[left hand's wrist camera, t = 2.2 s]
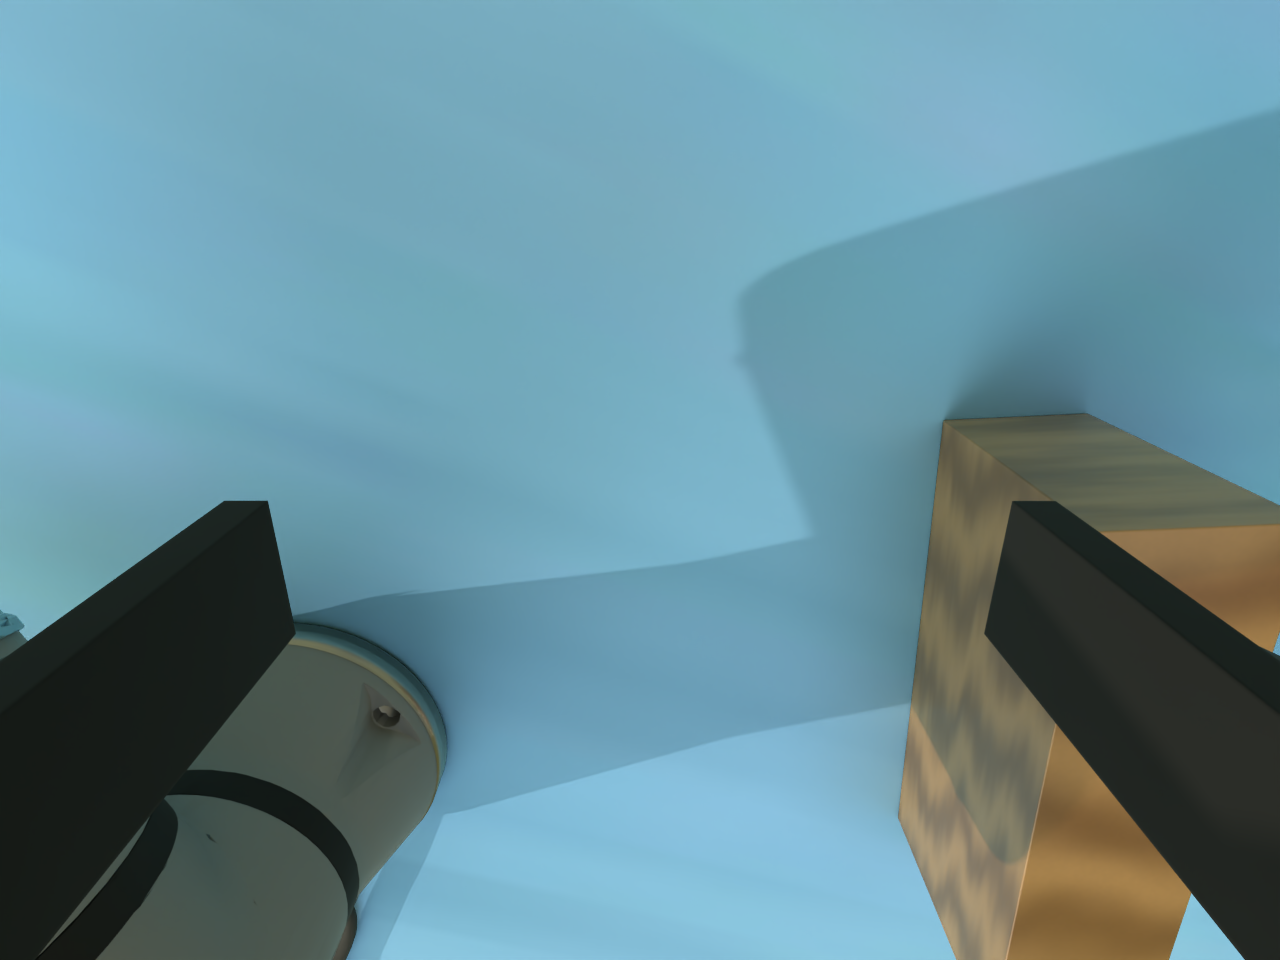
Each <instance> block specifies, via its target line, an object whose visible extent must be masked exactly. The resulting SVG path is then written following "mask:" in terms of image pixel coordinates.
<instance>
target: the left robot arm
mask: <svg viewBox="0 0 1280 960" xmlns="http://www.w3.org/2000/svg"><path fill="white" fill-rule="evenodd" d="M22 628H24V624H23V623H22V622H21V621H20V620H19V619H18V617H17V616H15V615H12V614H7V613H3V612H2V611H1V610H0V960H346V958H347V956H348V954H349V951H350V949H351V947H352V944H353V941H354V938H355V935H356V929H357V915H356V911H355V908H354V905H355V903H356V900H357V898H358V896H359V894H360V893H361V892H362V890H363V889H364V888H365V887H366V886H367V884H368V883H369V882H370V881H371V880H372V878H373V877H374V876H375V875H376V874H377V872H378V871H379V870H380V869H381V868H382V867H383V865H384V864H385V863H386V862H387V861H388V859H389V858H390V857H391V856H392V855H393V853H394V852H395V851H396V850H397V849H398V847H399V846H400V845H401V844H402V843H403V842H404V840H405V839H406V838H407V837H408V836H409V834H410V833H411V832H412V831H413V830H414V829H415V827H416V826H417V825H418V824H419V823H420V822H421V820H422V819H423V818H424V816H425V815H426V813H427V812H428V810H429V808H430V806H431V804H432V802H433V799H434V797H435V794H436V791H437V788H438V785H439V782H440V780H441V777H442V774H443V771H444V768H445V763H446V756H447V739H446V733H445V728H444V724H443V721H442V718H441V715H440V713H439V711H438V708H437V706H436V705H435V703H434V701H433V699H432V697H431V696H430V694H429V693H428V691H427V690H426V689H425V687H424V686H423V685H422V684H421V682H420V681H419V680H418V679H417V678H416V677H415V676H414V675H413V674H412V673H411V672H410V671H409V670H408V669H407V668H406V667H405V666H404V665H403V664H401V663H400V662H399V661H398V660H396V659H395V658H394V657H392V656H391V655H389V654H388V653H386V652H385V651H383V650H382V649H380V648H378V647H376V646H375V645H373V644H371V643H369V642H367V641H365V640H363V639H361V638H358V637H356V636H353V635H350V634H348V633H345V632H342V631H338V630H335V629H331V628H327V627H322V626H317V625H310V624H300V623H294V622H293V617H292V613H291V608H290V603H289V599H288V594H287V589H286V584H285V580H284V575H283V570H282V566H281V561H280V556H279V551H278V547H277V542H276V537H275V533H274V528H273V523H272V518H271V514H270V509H269V504H268V501H223V502H222V503H221V504H219V505H218V506H216V507H215V508H214V509H212V510H211V511H209V512H208V513H207V514H205V515H204V516H202V517H201V518H200V519H198V520H197V521H195V522H194V523H193V524H191V525H190V526H188V527H187V528H186V529H184V530H183V531H181V532H180V533H179V534H177V535H176V536H174V537H173V538H172V539H170V540H169V541H167V542H166V543H165V544H163V545H162V546H160V547H159V548H158V549H156V550H155V551H153V552H152V553H151V554H149V555H148V556H146V557H145V558H144V559H142V560H141V561H139V562H138V563H137V564H135V565H134V566H132V567H131V568H130V569H128V570H127V571H125V572H124V573H123V574H121V575H120V576H118V577H117V578H116V579H114V580H113V581H112V582H110V583H109V584H107V585H106V586H105V587H103V588H102V589H100V590H99V591H98V592H96V593H95V594H93V595H92V596H91V597H89V598H88V599H86V600H85V601H84V602H82V603H81V604H79V605H78V606H77V607H75V608H74V609H72V610H71V611H70V612H68V613H67V614H65V615H64V616H63V617H61V618H60V619H58V620H57V621H56V622H54V623H53V624H51V625H50V626H49V627H47V628H46V629H44V630H43V631H42V632H40V633H39V634H37V635H36V636H35V637H33V638H32V639H30V640H29V641H27V640H26V639H25V638H24V636H23V635H22V634H21V633H20V632H19V630H21V629H22ZM984 634H985V636H986V637H987V638H988V639H989V641H990V642H991V643H992V644H993V646H994V647H995V648H996V649H997V651H998V652H999V653H1000V654H1001V656H1002V657H1003V658H1004V659H1005V661H1006V662H1007V663H1008V664H1009V666H1010V667H1011V668H1012V669H1013V671H1014V672H1015V673H1016V674H1017V676H1018V677H1019V678H1020V679H1021V681H1022V682H1023V683H1024V684H1025V686H1026V687H1027V688H1028V689H1029V691H1030V692H1031V693H1032V694H1033V696H1034V697H1035V698H1036V699H1037V701H1038V702H1039V703H1040V704H1041V706H1042V707H1043V708H1044V709H1045V711H1046V712H1047V713H1048V714H1049V716H1050V717H1051V718H1052V719H1053V721H1054V722H1055V723H1056V724H1057V726H1058V727H1059V728H1060V729H1061V731H1062V732H1063V733H1064V734H1065V736H1066V737H1067V738H1068V739H1069V741H1070V742H1071V743H1072V744H1073V746H1074V747H1075V748H1076V749H1077V751H1078V752H1079V753H1080V754H1081V756H1082V757H1083V758H1084V759H1085V761H1086V762H1087V763H1088V764H1089V766H1090V767H1091V768H1092V769H1093V771H1094V772H1095V773H1096V774H1097V776H1098V777H1099V778H1100V779H1101V781H1102V782H1103V783H1104V784H1105V786H1106V787H1107V788H1108V789H1109V791H1110V792H1111V793H1112V794H1113V796H1114V797H1115V798H1116V799H1117V801H1118V802H1119V803H1120V804H1121V806H1122V807H1123V808H1124V809H1125V811H1126V812H1127V813H1128V814H1129V816H1130V817H1131V818H1132V819H1133V821H1134V822H1135V823H1136V824H1137V826H1138V827H1139V828H1140V829H1141V831H1142V832H1143V833H1144V834H1145V836H1146V837H1147V838H1148V839H1149V841H1150V842H1151V843H1152V844H1153V846H1154V847H1155V848H1156V849H1157V851H1158V852H1159V853H1160V854H1161V856H1162V857H1163V858H1164V859H1165V861H1166V862H1167V863H1168V864H1169V866H1170V867H1171V868H1172V869H1173V871H1174V872H1175V873H1176V874H1177V876H1178V877H1179V878H1180V879H1181V881H1182V882H1183V883H1184V884H1185V886H1186V887H1187V888H1188V889H1189V891H1190V892H1191V893H1192V894H1193V896H1194V897H1195V898H1196V899H1197V901H1198V902H1199V903H1200V904H1201V905H1202V907H1203V908H1204V909H1205V910H1206V912H1207V913H1208V914H1209V915H1210V917H1211V918H1212V919H1213V920H1214V922H1215V923H1216V924H1217V925H1218V927H1219V928H1220V929H1221V930H1222V932H1223V933H1224V934H1225V935H1226V937H1227V938H1228V939H1229V940H1230V942H1231V943H1232V944H1233V945H1234V947H1235V948H1236V949H1237V950H1238V952H1239V953H1240V954H1241V955H1242V957H1243V958H1244V959H1245V960H1280V656H1279V655H1277V654H1275V653H1273V652H1270V651H1268V650H1266V649H1264V648H1262V647H1259V646H1258V645H1257V644H1255V643H1254V642H1252V641H1251V640H1250V639H1248V638H1247V637H1245V636H1244V635H1243V634H1241V633H1240V632H1238V631H1237V630H1236V629H1234V628H1233V627H1231V626H1230V625H1229V624H1227V623H1226V622H1224V621H1223V620H1222V619H1220V618H1219V617H1217V616H1216V615H1215V614H1213V613H1212V612H1210V611H1209V610H1208V609H1206V608H1205V607H1203V606H1202V605H1201V604H1199V603H1198V602H1196V601H1195V600H1194V599H1192V598H1191V597H1189V596H1188V595H1187V594H1185V593H1184V592H1182V591H1181V590H1180V589H1178V588H1177V587H1175V586H1174V585H1173V584H1171V583H1170V582H1168V581H1167V580H1166V579H1164V578H1163V577H1162V576H1160V575H1159V574H1157V573H1156V572H1155V571H1153V570H1152V569H1150V568H1149V567H1148V566H1146V565H1145V564H1143V563H1142V562H1141V561H1139V560H1138V559H1136V558H1135V557H1134V556H1132V555H1131V554H1129V553H1128V552H1127V551H1125V550H1124V549H1122V548H1121V547H1120V546H1118V545H1117V544H1115V543H1114V542H1113V541H1111V540H1110V539H1108V538H1107V537H1106V536H1104V535H1103V534H1101V533H1100V532H1099V531H1097V530H1096V529H1094V528H1093V527H1092V526H1090V525H1089V524H1087V523H1086V522H1085V521H1083V520H1082V519H1080V518H1079V517H1078V516H1076V515H1075V514H1073V513H1072V512H1071V511H1069V510H1068V509H1066V508H1065V507H1064V506H1062V505H1061V504H1059V503H1058V502H1057V501H1012V504H1011V509H1010V514H1009V518H1008V523H1007V528H1006V533H1005V537H1004V542H1003V547H1002V551H1001V556H1000V561H999V566H998V570H997V575H996V580H995V584H994V589H993V594H992V599H991V603H990V608H989V613H988V617H987V622H986V627H985V631H984Z"/></svg>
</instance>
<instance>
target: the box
mask: <svg viewBox="0 0 1280 960" xmlns="http://www.w3.org/2000/svg"><path fill="white" fill-rule="evenodd" d="M1012 501H1057V502H1058V503H1059V504H1061V505H1062V506H1064V507H1065V508H1066V509H1068V510H1069V511H1071V512H1072V513H1073V514H1075V515H1076V516H1078V517H1079V518H1080V519H1082V520H1083V521H1085V522H1086V523H1087V524H1089V525H1090V526H1092V527H1093V528H1094V529H1096V530H1097V531H1099V532H1100V533H1101V534H1103V535H1104V536H1106V537H1107V538H1108V539H1110V540H1111V541H1113V542H1114V543H1115V544H1117V545H1118V546H1120V547H1121V548H1122V549H1124V550H1125V551H1127V552H1128V553H1129V554H1131V555H1132V556H1134V557H1135V558H1136V559H1138V560H1139V561H1141V562H1142V563H1143V564H1145V565H1146V566H1148V567H1149V568H1150V569H1152V570H1153V571H1155V572H1156V573H1157V574H1159V575H1160V576H1162V577H1163V578H1164V579H1166V580H1167V581H1168V582H1170V583H1171V584H1173V585H1174V586H1175V587H1177V588H1178V589H1180V590H1181V591H1182V592H1184V593H1185V594H1187V595H1188V596H1189V597H1191V598H1192V599H1194V600H1195V601H1196V602H1198V603H1199V604H1201V605H1202V606H1203V607H1205V608H1206V609H1208V610H1209V611H1210V612H1212V613H1213V614H1215V615H1216V616H1217V617H1219V618H1220V619H1222V620H1223V621H1224V622H1226V623H1227V624H1229V625H1230V626H1231V627H1233V628H1234V629H1236V630H1237V631H1238V632H1240V633H1241V634H1243V635H1244V636H1245V637H1247V638H1248V639H1250V640H1251V641H1252V642H1254V643H1255V644H1257V645H1258V646H1259V647H1262V648H1264V649H1266V650H1268V651H1270V652H1273V650H1274V647H1275V644H1276V641H1277V638H1278V635H1279V632H1280V505H1278V504H1275V503H1273V502H1271V501H1269V500H1267V499H1265V498H1263V497H1261V496H1259V495H1257V494H1255V493H1253V492H1250V491H1248V490H1246V489H1244V488H1242V487H1240V486H1238V485H1236V484H1234V483H1232V482H1230V481H1227V480H1225V479H1223V478H1221V477H1219V476H1217V475H1215V474H1213V473H1211V472H1209V471H1207V470H1204V469H1202V468H1200V467H1198V466H1196V465H1194V464H1192V463H1190V462H1188V461H1186V460H1184V459H1182V458H1179V457H1177V456H1175V455H1173V454H1171V453H1169V452H1167V451H1165V450H1163V449H1161V448H1159V447H1156V446H1154V445H1152V444H1150V443H1148V442H1146V441H1144V440H1142V439H1140V438H1138V437H1136V436H1133V435H1131V434H1129V433H1127V432H1125V431H1123V430H1121V429H1119V428H1117V427H1115V426H1113V425H1110V424H1108V423H1106V422H1104V421H1102V420H1100V419H1098V418H1096V417H1094V416H1092V415H1090V414H1068V415H1046V416H1025V417H1003V418H981V419H960V420H944V421H943V429H942V437H941V446H940V455H939V464H938V473H937V481H936V490H935V499H934V508H933V516H932V525H931V534H930V543H929V552H928V560H927V569H926V578H925V587H924V595H923V604H922V613H921V622H920V630H919V639H918V648H917V657H916V666H915V674H914V683H913V692H912V701H911V709H910V718H909V727H908V736H907V745H906V753H905V762H904V771H903V780H902V788H901V797H900V806H899V815H898V819H899V821H900V824H901V826H902V829H903V831H904V833H905V836H906V838H907V841H908V843H909V846H910V848H911V850H912V853H913V855H914V858H915V860H916V863H917V865H918V867H919V870H920V872H921V875H922V877H923V880H924V882H925V885H926V887H927V889H928V892H929V894H930V897H931V899H932V902H933V904H934V906H935V909H936V911H937V914H938V916H939V919H940V921H941V923H942V926H943V928H944V931H945V933H946V936H947V938H948V941H949V943H950V945H951V948H952V950H953V953H954V955H955V958H956V960H1169V958H1170V955H1171V952H1172V949H1173V946H1174V943H1175V940H1176V937H1177V934H1178V931H1179V928H1180V925H1181V922H1182V919H1183V916H1184V913H1185V910H1186V907H1187V904H1188V902H1189V899H1190V896H1191V892H1190V891H1189V889H1188V888H1187V887H1186V886H1185V884H1184V883H1183V882H1182V881H1181V879H1180V878H1179V877H1178V876H1177V874H1176V873H1175V872H1174V871H1173V869H1172V868H1171V867H1170V866H1169V864H1168V863H1167V862H1166V861H1165V859H1164V858H1163V857H1162V856H1161V854H1160V853H1159V852H1158V851H1157V849H1156V848H1155V847H1154V846H1153V844H1152V843H1151V842H1150V841H1149V839H1148V838H1147V837H1146V836H1145V834H1144V833H1143V832H1142V831H1141V829H1140V828H1139V827H1138V826H1137V824H1136V823H1135V822H1134V821H1133V819H1132V818H1131V817H1130V816H1129V814H1128V813H1127V812H1126V811H1125V809H1124V808H1123V807H1122V806H1121V804H1120V803H1119V802H1118V801H1117V799H1116V798H1115V797H1114V796H1113V794H1112V793H1111V792H1110V791H1109V789H1108V788H1107V787H1106V786H1105V784H1104V783H1103V782H1102V781H1101V779H1100V778H1099V777H1098V776H1097V774H1096V773H1095V772H1094V771H1093V769H1092V768H1091V767H1090V766H1089V764H1088V763H1087V762H1086V761H1085V759H1084V758H1083V757H1082V756H1081V754H1080V753H1079V752H1078V751H1077V749H1076V748H1075V747H1074V746H1073V744H1072V743H1071V742H1070V741H1069V739H1068V738H1067V737H1066V736H1065V734H1064V733H1063V732H1062V731H1061V729H1060V728H1059V727H1058V726H1057V724H1056V723H1055V722H1054V721H1053V719H1052V718H1051V717H1050V716H1049V714H1048V713H1047V712H1046V711H1045V709H1044V708H1043V707H1042V706H1041V704H1040V703H1039V702H1038V701H1037V699H1036V698H1035V697H1034V696H1033V694H1032V693H1031V692H1030V691H1029V689H1028V688H1027V687H1026V686H1025V684H1024V683H1023V682H1022V681H1021V679H1020V678H1019V677H1018V676H1017V674H1016V673H1015V672H1014V671H1013V669H1012V668H1011V667H1010V666H1009V664H1008V663H1007V662H1006V661H1005V659H1004V658H1003V657H1002V656H1001V654H1000V653H999V652H998V651H997V649H996V648H995V647H994V646H993V644H992V643H991V642H990V641H989V639H988V638H987V637H986V636H985V634H984V631H985V627H986V622H987V617H988V613H989V608H990V603H991V599H992V594H993V589H994V584H995V580H996V575H997V570H998V566H999V561H1000V556H1001V551H1002V547H1003V542H1004V537H1005V533H1006V528H1007V523H1008V518H1009V514H1010V509H1011V504H1012Z"/></svg>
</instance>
